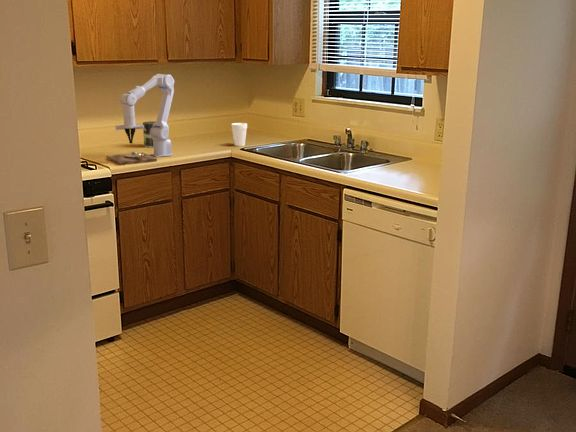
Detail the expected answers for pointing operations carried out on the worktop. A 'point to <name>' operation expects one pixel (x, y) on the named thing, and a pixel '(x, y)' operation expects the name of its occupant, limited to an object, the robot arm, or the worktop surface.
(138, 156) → the cam dial
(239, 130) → the foam cup
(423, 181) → the worktop surface
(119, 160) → the walnut stand
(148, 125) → the coffee can
